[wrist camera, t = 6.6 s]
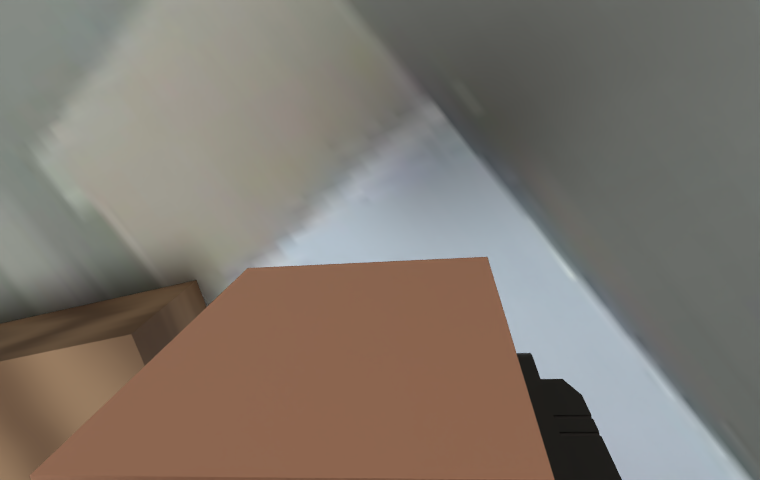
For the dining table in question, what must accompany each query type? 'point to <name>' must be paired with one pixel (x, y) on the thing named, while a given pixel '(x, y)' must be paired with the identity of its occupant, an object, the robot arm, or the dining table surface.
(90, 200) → the dining table surface
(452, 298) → the terracotta block
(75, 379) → the walnut block
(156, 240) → the dining table surface
